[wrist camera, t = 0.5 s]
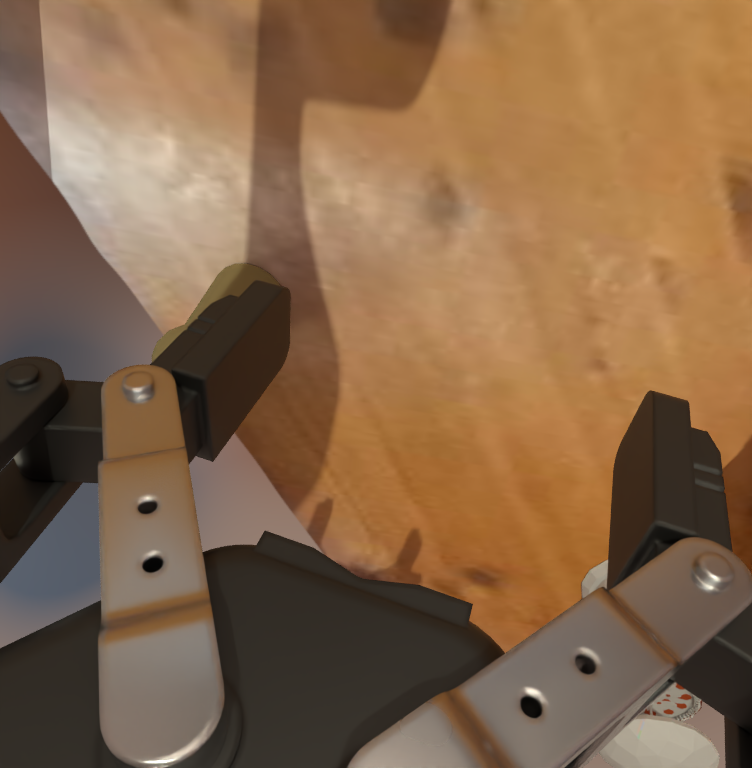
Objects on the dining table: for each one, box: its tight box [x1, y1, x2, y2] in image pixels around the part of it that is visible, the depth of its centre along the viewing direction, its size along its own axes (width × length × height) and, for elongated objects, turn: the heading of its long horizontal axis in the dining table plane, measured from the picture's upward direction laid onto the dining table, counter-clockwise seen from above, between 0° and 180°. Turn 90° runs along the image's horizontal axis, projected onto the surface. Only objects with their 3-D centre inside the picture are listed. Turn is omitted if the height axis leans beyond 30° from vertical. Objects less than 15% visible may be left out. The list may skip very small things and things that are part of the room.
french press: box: [582, 560, 720, 768], centre depth 46 cm, size 10×12×25 cm
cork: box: [152, 264, 280, 362], centre depth 44 cm, size 6×6×11 cm
